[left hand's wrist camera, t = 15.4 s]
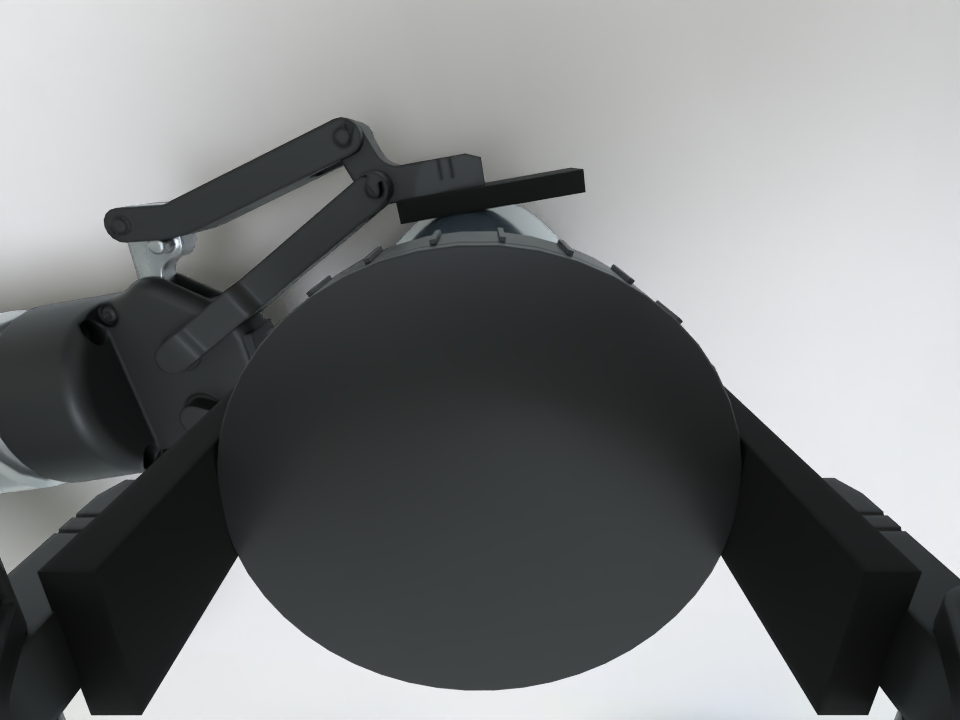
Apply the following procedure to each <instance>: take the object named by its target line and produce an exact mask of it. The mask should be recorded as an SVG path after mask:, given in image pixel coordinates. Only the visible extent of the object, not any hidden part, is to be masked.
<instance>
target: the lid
mask: <svg viewBox="0 0 960 720" xmlns="http://www.w3.org/2000/svg"><path fill="white" fill-rule="evenodd" d="M633 283H634V280H633V279H632V278H631V277H630V276H628V275H627V274H626V273H625V272H623V271H622V270H621V269H619V268H618V267H617V266H615V265H614V264H613V265H612V267H611V268H610V267H608V266H606V265H605V264H603V263H601V262H600V261H598V260H596V259H595V258H593V257H590V256H588V255H586V254H583V253H581V252H579V251H576V250H574V249H572V248H570V247H569V246H568V245H567V244H566V243H565V242H564V241H563V240H560V239H558V242H557V243H555V242H551V241H547V240H544V239H540V238H536V237H532V236H527V235H520V234H512V233H505V232H504V230H503V228H497V231H461V232H454V233H446V234H441V230H435V232H434V233H433V235H432V236H426V237H422V238H419V239H415V240H412V241H408V242H404V243H401V244H397V245H394V246H392V247H389V248H387V249H385V250H382V247H381V246H380V247H378V248H376V249H375V250H374V251H372V252H371V253H370V254H369V255H368V256H367V257H365V258H364V259H362V260H361V261H359V262H357V263H356V264H354V265H352V266H351V267H349V268H348V269H346V270H344V271H343V272H341V273H339V274H338V275H336V276H335V277H334V278H331V277H330V276H328V277H326V278H325V279H324V280H322V281H321V282H320V283H319V284H317V285H316V286H315V287H313V288H312V289H311V290H310V291H308V292H307V293H306V294H307V295H308V296H309V298H308V299H307V300H306V301H304V302H303V303H302V304H301V305H300V306H298V307H297V308H296V309H295V310H294V311H292V312H291V313H290V314H289V315H287V316H286V317H285V318H284V319H283V320H282V321H280V322H279V323H278V324H277V325H276V326H274V327H273V328H272V329H271V330H269V331H268V332H267V333H266V334H265V335H264V337H263V338H264V339H265V340H264V341H263V342H262V343H261V344H260V345H259V347H258V348H257V350H256V351H255V353H254V354H253V356H252V357H251V359H250V360H249V362H248V364H247V365H246V367H245V368H244V370H243V371H242V373H241V375H240V377H239V379H238V381H237V384H236V386H235V388H234V390H233V393H232V395H231V397H230V399H229V401H228V404H227V408H226V412H225V415H224V419H223V423H222V427H221V430H220V436H219V446H218V456H217V478H218V485H219V490H220V495H221V500H222V505H223V509H224V514H225V519H226V524H227V528H228V532H229V535H230V538H231V541H232V543H233V546H234V549H235V550H236V552H237V554H238V556H239V558H240V560H241V562H242V563H243V565H244V567H245V569H246V571H247V573H248V574H249V576H250V577H251V578H252V580H253V581H254V582H255V584H256V585H257V587H258V588H259V589H260V591H261V592H262V593H263V595H264V596H265V597H266V598H267V599H268V600H269V601H270V603H271V604H272V605H273V606H274V607H275V608H276V609H277V610H278V611H279V612H280V613H281V614H282V615H283V616H284V617H285V618H286V619H287V620H288V621H289V622H291V623H292V624H293V625H294V626H295V627H297V628H298V629H299V630H300V631H301V632H303V633H304V634H305V635H306V636H308V637H309V638H311V639H312V640H314V641H315V642H317V643H318V644H320V645H321V646H323V647H324V648H326V649H327V650H329V651H331V652H333V653H335V654H336V655H338V656H340V657H342V658H344V659H346V660H348V661H350V662H352V663H354V664H356V665H358V666H361V667H363V668H366V669H368V670H371V671H373V672H376V673H379V674H381V675H384V676H388V677H391V678H395V679H398V680H402V681H405V682H409V683H414V684H419V685H425V686H430V687H435V688H445V689H456V690H503V689H514V688H524V687H529V686H534V685H539V684H545V683H550V682H554V681H557V680H561V679H564V678H567V677H571V676H574V675H578V674H580V673H583V672H585V671H588V670H590V669H593V668H595V667H598V666H600V665H603V664H605V663H607V662H609V661H611V660H613V659H615V658H617V657H619V656H620V655H622V654H624V653H626V652H628V651H630V650H632V649H633V648H635V647H636V646H638V645H639V644H641V643H642V642H643V641H645V640H646V639H648V638H649V637H651V636H652V635H654V634H655V633H656V632H657V631H659V630H660V629H661V628H662V627H663V626H665V625H666V624H667V623H668V622H669V621H670V620H672V619H673V618H674V617H675V616H676V615H677V614H678V613H679V612H680V611H681V610H682V609H683V608H684V607H685V606H686V604H687V603H688V602H689V601H690V600H691V599H692V598H693V597H694V596H695V595H696V593H697V592H698V590H699V589H700V588H701V586H702V585H703V583H704V582H705V581H706V579H707V578H708V577H709V575H710V574H711V572H712V571H713V569H714V567H715V565H716V563H717V561H718V559H719V557H720V556H721V554H722V552H723V550H724V548H725V546H726V543H727V540H728V538H729V535H730V532H731V529H732V525H733V521H734V516H735V511H736V506H737V501H738V497H739V492H740V486H741V473H742V458H741V448H740V439H739V431H738V427H737V424H736V420H735V417H734V413H733V409H732V406H731V402H730V400H729V398H728V395H727V393H726V391H725V389H724V387H723V384H722V382H721V380H720V378H719V375H718V373H717V372H716V369H715V367H714V366H713V365H712V364H711V362H710V361H709V359H708V358H707V356H706V355H705V353H704V352H703V350H702V349H701V347H700V346H699V344H698V343H697V342H696V341H695V340H694V339H693V338H692V337H691V336H690V334H689V333H688V332H687V331H686V330H685V329H684V328H683V327H682V326H681V325H680V324H681V323H682V322H683V321H682V320H681V319H680V318H679V317H678V316H677V315H675V314H674V313H673V312H672V311H670V310H669V309H668V308H667V307H665V306H664V305H663V304H662V303H660V302H659V301H658V300H657V301H656V302H654V301H653V300H652V299H651V298H649V297H648V296H647V295H646V294H645V293H643V292H642V291H641V290H640V289H639V288H637V287H636V286H635V285H634V284H633Z"/></svg>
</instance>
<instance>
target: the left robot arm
mask: <svg viewBox="0 0 960 720" xmlns="http://www.w3.org/2000/svg"><path fill="white" fill-rule="evenodd" d="M723 387H724V386H723ZM234 388H235V387H234ZM234 388H233V389H232V390H231V391H230V392H229V393H228V394H227V395H226V396H225V397H223V398H222V399H221V400H220V401H219V402H218V403H217V404H216V405H215V406H214V407H213V408H212V409H211V410H210V411H209V412H207V413H206V414H205V415H204V416H203V417H202V418H201V419H200V420H199V421H198V422H197V423H196V424H195V425H194V426H192V427H191V428H190V429H189V430H188V431H187V432H186V433H185V434H184V435H183V436H182V437H181V438H180V439H179V440H178V441H176V442H175V443H174V444H173V445H172V446H171V447H170V448H169V449H168V450H167V451H166V452H165V453H164V454H163V455H162V456H160V457H159V458H158V459H157V460H156V461H155V462H154V463H153V464H152V465H151V466H150V467H149V468H148V469H147V470H145V471H144V472H143V473H142V474H141V475H140V476H139V477H138V478H137V479H136V480H124V481H123V482H121V483H119V484H117V485H115V486H114V487H112V488H110V489H108V490H106V491H105V492H103V493H101V494H99V495H97V496H96V497H95V498H94V499H93V500H92V501H91V502H89V503H88V504H87V505H86V506H85V507H84V508H83V509H81V510H80V511H79V512H78V513H77V514H76V515H77V516H76V518H71V519H70V520H69V521H68V522H67V523H66V524H64V525H63V526H62V527H61V528H60V529H59V533H54V534H53V535H52V536H51V537H50V538H49V539H47V540H46V541H45V542H44V543H43V544H42V545H41V546H40V547H38V548H37V549H36V550H35V551H34V552H33V553H32V554H31V555H29V556H28V557H27V558H26V559H25V560H24V561H23V562H21V563H20V564H19V565H18V566H17V567H16V568H15V569H14V570H12V571H11V572H10V573H9V574H8V575H7V573H6V571H5V568H4V566H3V563H2V561H1V558H0V720H66V719H65V717H64V714H63V711H64V709H65V708H66V707H67V705H68V704H69V703H70V701H71V700H72V699H73V697H74V696H75V695H76V693H77V692H78V691H79V689H80V688H81V690H82V692H83V695H84V697H85V700H86V703H87V705H88V708H89V711H90V713H91V715H142V714H143V712H144V710H145V709H146V707H147V705H148V704H149V702H150V700H151V699H152V697H153V695H154V694H155V692H156V690H157V689H158V687H159V686H160V684H161V682H162V681H163V679H164V677H165V676H166V674H167V672H168V671H169V669H170V667H171V666H172V664H173V662H174V661H175V659H176V657H177V656H178V654H179V653H180V651H181V649H182V648H183V646H184V644H185V643H186V641H187V639H188V638H189V636H190V634H191V633H192V631H193V629H194V628H195V626H196V624H197V623H198V621H199V620H200V618H201V616H202V615H203V613H204V611H205V610H206V608H207V606H208V605H209V603H210V601H211V600H212V598H213V596H214V595H215V593H216V591H217V590H218V588H219V587H220V585H221V583H222V582H223V580H224V578H225V577H226V575H227V573H228V572H229V570H230V568H231V567H232V565H233V563H234V562H235V560H236V559H237V557H238V554H237V552H236V550H235V549H234V546H233V543H232V541H231V538H230V535H229V532H228V528H227V524H226V519H225V514H224V509H223V505H222V500H221V495H220V490H219V485H218V478H217V456H218V446H219V436H220V430H221V427H222V423H223V419H224V415H225V412H226V408H227V404H228V401H229V399H230V397H231V395H232V393H233V390H234ZM724 389H725V391H726V393H727V395H728V398H729V400H730V402H731V406H732V409H733V413H734V417H735V420H736V424H737V427H738V431H739V439H740V448H741V458H742V473H741V486H740V492H739V497H738V501H737V506H736V511H735V516H734V521H733V525H732V529H731V532H730V535H729V538H728V540H727V543H726V546H725V548H724V550H723V552H722V554H721V556H722V558H723V559H724V561H725V563H726V564H727V566H728V568H729V569H730V571H731V573H732V574H733V576H734V578H735V579H736V581H737V583H738V584H739V586H740V587H741V589H742V591H743V592H744V594H745V596H746V597H747V599H748V601H749V602H750V604H751V606H752V607H753V609H754V611H755V612H756V614H757V616H758V617H759V619H760V620H761V622H762V624H763V625H764V627H765V629H766V630H767V632H768V634H769V635H770V637H771V639H772V640H773V642H774V644H775V645H776V647H777V648H778V650H779V652H780V653H781V655H782V657H783V658H784V660H785V662H786V663H787V665H788V667H789V668H790V670H791V672H792V673H793V675H794V677H795V678H796V680H797V681H798V683H799V685H800V686H801V688H802V690H803V691H804V693H805V695H806V696H807V698H808V700H809V701H810V703H811V705H812V706H813V708H814V710H815V711H816V713H817V714H818V715H868V714H869V711H870V709H871V706H872V704H873V701H874V698H875V696H876V693H877V690H878V688H879V686H880V687H881V688H882V690H883V691H884V692H885V694H886V695H887V696H888V698H889V699H890V700H891V702H892V703H893V704H894V706H895V707H896V708H897V710H898V712H897V714H896V717H895V719H894V720H960V579H959V578H958V577H957V576H956V575H955V574H954V573H953V572H951V571H950V570H949V569H948V568H947V567H946V566H945V565H943V564H942V563H941V562H940V561H939V560H938V559H937V558H935V557H934V556H933V555H932V554H931V553H930V552H929V551H927V550H926V549H925V548H924V547H923V546H922V545H921V544H920V543H918V542H917V541H916V540H915V539H914V538H913V537H912V536H910V535H909V534H908V533H907V532H906V531H901V527H900V526H899V525H898V524H897V523H896V522H894V521H893V520H892V519H891V518H890V517H889V516H884V514H883V511H882V510H881V509H880V508H878V507H877V506H876V505H875V504H874V503H873V502H872V501H870V500H869V499H868V498H867V497H866V496H865V495H864V494H862V493H861V492H859V491H857V490H855V489H853V488H852V487H850V486H848V485H846V484H844V483H843V482H841V481H839V480H837V479H835V478H821V477H820V476H819V475H818V474H817V473H816V472H815V471H814V470H813V469H812V468H811V467H810V466H809V465H808V464H806V463H805V462H804V461H803V460H802V459H801V458H800V457H799V456H798V455H797V454H796V453H795V452H794V451H793V450H791V449H790V448H789V447H788V446H787V445H786V444H785V443H784V442H783V441H782V440H781V439H780V438H779V437H778V436H777V435H775V434H774V433H773V432H772V431H771V430H770V429H769V428H768V427H767V426H766V425H765V424H764V423H763V422H762V421H761V420H759V419H758V418H757V417H756V416H755V415H754V414H753V413H752V412H751V411H750V410H749V409H748V408H747V407H746V406H744V405H743V404H742V403H741V402H740V401H739V400H738V399H737V398H736V397H735V396H734V395H733V394H732V393H731V392H730V391H728V390H727V389H726V388H725V387H724Z"/></svg>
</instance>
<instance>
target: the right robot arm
mask: <svg viewBox="0 0 960 720" xmlns="http://www.w3.org/2000/svg"><path fill="white" fill-rule="evenodd" d="M342 166H344V167H345V168H346V170H347V171H348V173H349V175H350V176H351V178H352V180H353V181H354V182H353V183H352V184H351V185H350V186H348V187H347V188H346V189H345V190H344V191H343V192H342V193H340V194H339V195H338V196H337V197H336V198H335V199H333V200H332V201H331V202H330V203H329V204H328V205H326V206H325V207H324V208H323V209H322V210H321V211H320V212H318V213H317V214H316V215H315V216H314V217H313V218H311V219H310V220H309V221H308V222H307V223H306V224H304V225H303V226H302V227H301V228H300V229H299V230H297V231H296V232H295V233H294V234H293V235H292V236H291V237H289V238H288V239H287V240H286V241H285V242H284V243H282V244H281V245H280V246H279V247H278V248H277V249H275V250H274V251H273V252H272V253H271V254H270V255H268V256H267V257H266V258H265V259H264V260H263V261H262V262H260V263H259V264H258V265H257V266H256V267H255V268H253V269H252V270H251V271H250V272H249V273H248V274H246V275H245V276H244V277H243V278H242V279H241V280H239V281H238V282H237V283H235V284H234V285H233V286H231V287H230V288H228V289H227V290H226V291H224V292H223V293H222V292H220V291H218V290H215V289H213V288H211V287H209V286H206V285H204V284H202V283H200V282H197V281H195V280H193V279H191V278H189V277H186V276H184V275H182V274H179V273H176V263H177V261H178V259H179V258H180V257H182V256H184V255H187V254H190V253H191V252H192V251H193V249H194V247H195V242H196V235H195V233H196V232H200V231H204V230H207V229H211V228H215V227H217V226H220V225H222V224H225V223H227V222H229V221H231V220H233V219H235V218H237V217H239V216H241V215H243V214H245V213H247V212H249V211H251V210H253V209H255V208H257V207H260V206H262V205H264V204H266V203H268V202H270V201H272V200H274V199H276V198H278V197H280V196H282V195H284V194H286V193H288V192H290V191H292V190H295V189H297V188H299V187H301V186H303V185H305V184H307V183H309V182H311V181H313V180H315V179H317V178H319V177H321V176H323V175H325V174H327V173H329V172H332V171H334V170H336V169H338V168H340V167H342ZM583 192H585V182H584V171H583V169H577V168H567V169H561V170H555V171H550V172H544V173H538V174H533V175H527V176H522V177H516V178H510V179H505V180H499V181H493V182H488V183H485V182H484V175H483V169H482V163H481V157H478V156H474V155H469V154H460V155H455V156H449V157H444V158H438V159H433V160H427V161H422V162H416V163H411V164H405V165H398V164H394V163H392V162H390V161H389V160H388V159H387V158H386V157H385V156H384V154H383V153H382V151H381V150H380V148H379V146H378V145H377V143H376V141H375V139H374V136H373V133H372V131H371V130H370V128H369V127H368V126H367V125H365V124H364V123H361V122H358V121H355V120H351V119H347V118H342V117H340V118H336V119H333V120H331V121H329V122H327V123H325V124H323V125H321V126H319V127H317V128H315V129H313V130H311V131H309V132H307V133H305V134H303V135H301V136H299V137H297V138H295V139H293V140H291V141H289V142H287V143H285V144H283V145H281V146H279V147H277V148H275V149H273V150H271V151H269V152H267V153H265V154H263V155H261V156H259V157H257V158H255V159H253V160H251V161H249V162H247V163H245V164H243V165H241V166H239V167H237V168H235V169H233V170H231V171H229V172H227V173H225V174H223V175H221V176H219V177H217V178H215V179H213V180H212V181H210V182H208V183H206V184H204V185H202V186H200V187H198V188H196V189H194V190H192V191H190V192H188V193H186V194H184V195H182V196H180V197H178V198H176V199H174V200H172V201H170V202H158V203H149V204H142V205H135V206H128V207H120V208H115V209H111V210H109V211H108V212H107V213H106V215H105V218H104V225H105V228H106V230H107V232H108V234H109V235H110V236H111V237H112V238H113V239H115V240H117V241H119V242H125V243H128V245H129V249H130V252H131V255H132V259H133V262H134V265H135V269H136V272H137V275H138V279H139V280H137V281H136V282H134V283H133V284H132V285H131V286H130V287H129V288H128V289H127V290H126V291H124V292H121V293H115V294H109V295H103V296H97V297H91V298H86V299H80V300H74V301H68V302H62V303H56V304H51V305H45V306H40V307H36V308H33V309H31V310H15V311H9V312H4V313H0V494H1V493H9V492H16V491H24V490H31V489H39V488H46V487H54V486H58V485H61V484H64V483H67V482H70V483H72V482H83V481H90V480H97V479H103V478H110V477H117V476H123V475H130V474H137V473H143V472H144V471H145V470H147V469H148V468H149V467H150V466H151V465H152V464H153V463H154V462H155V461H156V460H157V459H158V458H159V457H160V456H162V455H163V454H164V453H165V452H166V451H167V450H168V449H169V448H170V447H171V446H172V445H173V444H174V443H175V442H176V441H178V440H179V439H180V438H181V437H182V436H183V435H184V434H185V433H186V432H187V431H188V430H189V429H190V428H191V427H192V426H194V425H195V424H196V423H197V422H198V421H199V420H200V419H201V418H202V417H203V416H204V415H205V414H206V413H207V412H209V411H210V410H211V409H212V408H213V407H214V406H215V405H216V404H217V403H218V402H219V401H220V400H221V399H222V398H223V397H225V396H226V395H227V394H228V393H229V392H230V391H231V390H232V389H233V388H234V387H235V386H236V384H237V381H238V379H239V377H240V375H241V373H242V371H243V370H244V368H245V367H246V365H247V364H248V362H249V360H250V359H251V357H252V356H253V354H254V353H255V351H256V350H257V348H258V347H259V345H260V344H261V343H262V342H263V341H264V340H265V339H264V338H263V337H264V335H265V334H266V333H267V332H268V331H269V330H271V329H272V328H273V325H272V322H271V319H264V317H263V316H262V315H261V313H260V312H261V311H262V310H263V309H264V308H266V307H267V306H268V305H269V304H270V303H272V302H273V301H274V300H275V299H276V298H278V297H279V296H280V295H281V294H282V293H283V292H284V291H285V290H286V289H288V288H289V287H290V286H291V285H292V284H294V283H295V282H296V281H297V280H298V279H300V278H301V277H302V276H303V275H304V274H306V273H307V272H308V271H309V270H310V269H312V268H313V267H314V266H315V265H316V264H318V263H319V262H320V261H321V260H322V259H324V258H325V257H326V256H327V255H328V254H330V253H331V252H332V251H333V250H334V249H336V248H337V247H338V246H339V245H340V244H342V243H343V242H344V241H345V240H346V239H348V238H349V237H350V236H351V235H352V234H354V233H355V232H356V231H357V230H358V229H360V228H361V227H362V226H363V225H364V224H366V223H367V222H368V221H369V220H370V219H372V218H373V217H374V216H375V215H376V214H378V213H379V212H380V211H381V210H382V209H384V208H385V207H386V206H387V205H388V204H391V203H397V208H398V212H399V217H400V222H401V224H405V223H410V222H416V221H422V220H428V219H433V218H439V217H445V216H451V215H456V214H462V213H468V212H474V211H479V210H485V209H491V208H497V207H502V206H508V205H514V204H520V203H525V202H531V201H537V200H543V199H548V198H554V197H560V196H566V195H571V194H577V193H583Z"/></svg>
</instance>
